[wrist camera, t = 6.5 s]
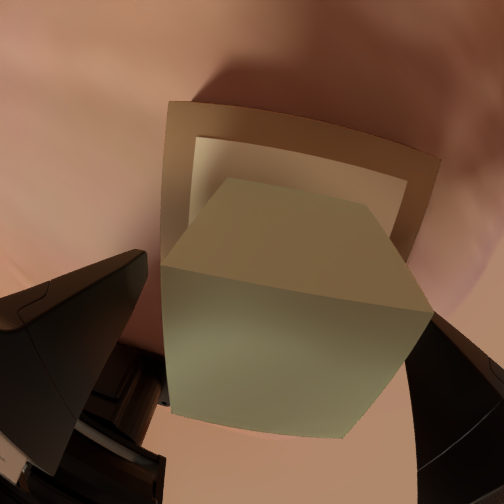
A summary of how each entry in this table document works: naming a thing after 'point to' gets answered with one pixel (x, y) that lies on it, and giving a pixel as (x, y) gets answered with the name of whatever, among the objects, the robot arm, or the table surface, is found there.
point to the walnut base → (288, 166)
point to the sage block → (285, 312)
